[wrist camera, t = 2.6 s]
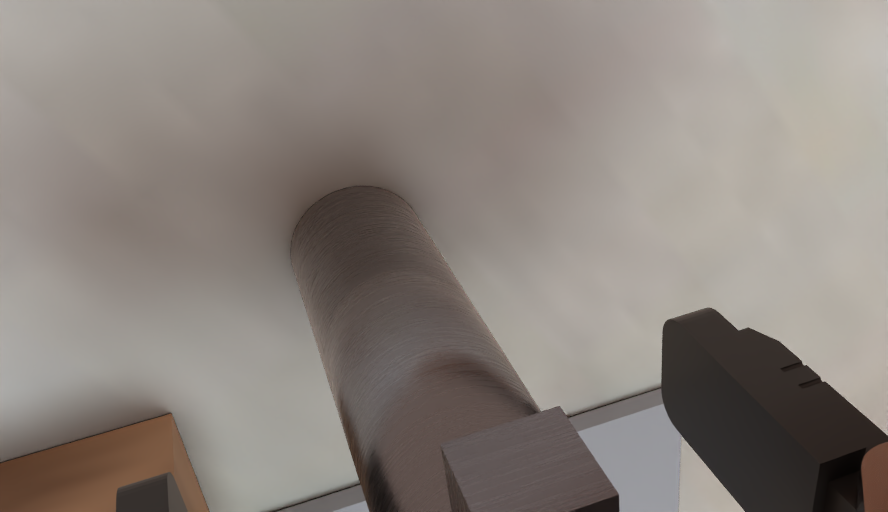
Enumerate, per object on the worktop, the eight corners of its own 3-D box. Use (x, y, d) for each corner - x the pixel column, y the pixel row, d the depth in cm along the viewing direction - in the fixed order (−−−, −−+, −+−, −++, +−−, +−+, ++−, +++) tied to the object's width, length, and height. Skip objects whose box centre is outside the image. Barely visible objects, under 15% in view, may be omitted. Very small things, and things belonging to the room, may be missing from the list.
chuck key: (401, 107, 18) (692, 468, 8) (437, 335, 21) (678, 785, 11) (260, 139, 17) (402, 570, 8) (319, 370, 20) (471, 873, 11)
